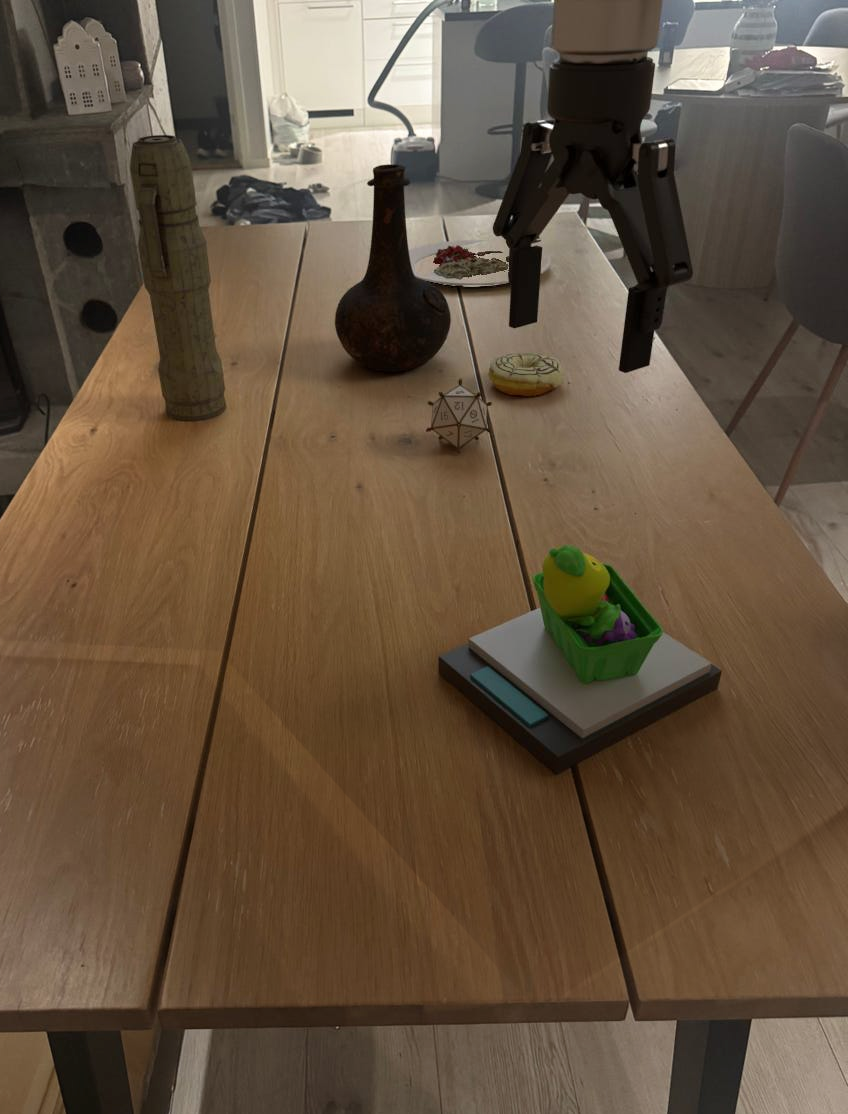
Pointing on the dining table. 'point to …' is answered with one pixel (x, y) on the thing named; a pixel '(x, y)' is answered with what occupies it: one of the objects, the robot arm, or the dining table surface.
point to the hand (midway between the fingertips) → (575, 345)
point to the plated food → (459, 263)
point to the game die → (459, 416)
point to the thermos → (177, 278)
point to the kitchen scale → (569, 690)
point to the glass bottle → (391, 292)
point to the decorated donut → (526, 374)
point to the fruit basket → (594, 616)
